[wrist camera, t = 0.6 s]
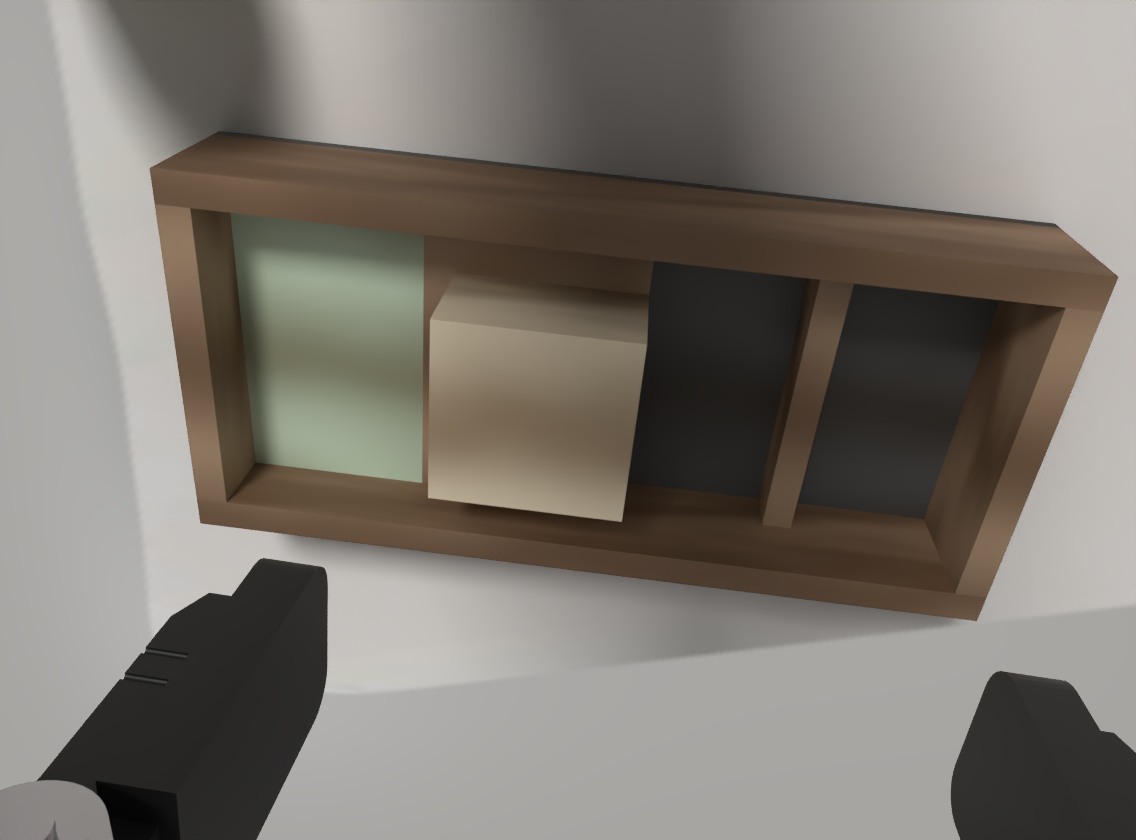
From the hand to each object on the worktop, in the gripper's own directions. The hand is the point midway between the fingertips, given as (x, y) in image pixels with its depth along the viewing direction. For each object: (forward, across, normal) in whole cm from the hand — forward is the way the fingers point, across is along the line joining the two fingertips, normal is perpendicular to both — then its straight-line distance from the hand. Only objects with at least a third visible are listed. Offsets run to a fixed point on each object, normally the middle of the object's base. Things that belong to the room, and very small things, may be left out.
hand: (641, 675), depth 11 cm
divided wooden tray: (+21, +1, +3) cm, 21 cm away
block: (+19, +3, +4) cm, 19 cm away
